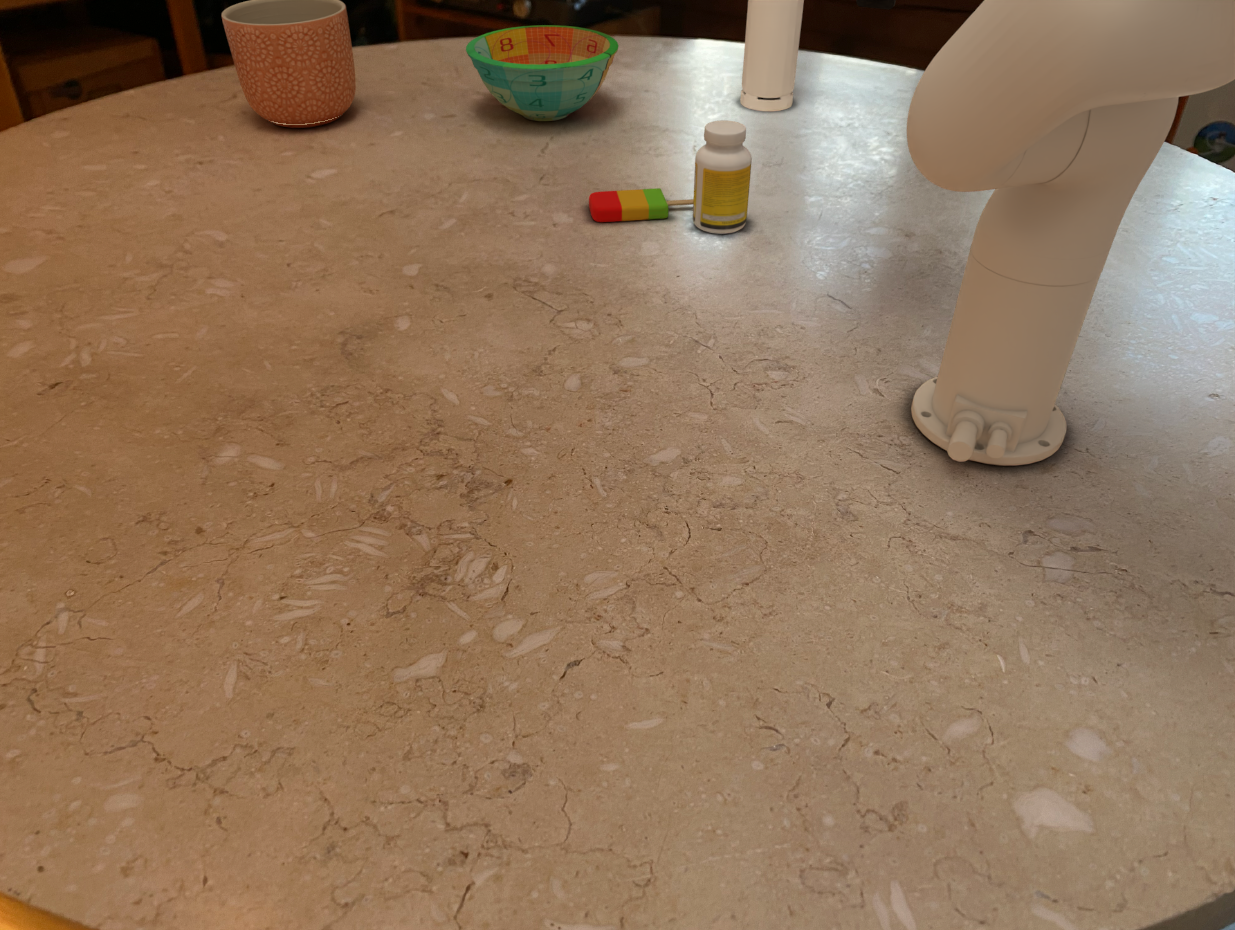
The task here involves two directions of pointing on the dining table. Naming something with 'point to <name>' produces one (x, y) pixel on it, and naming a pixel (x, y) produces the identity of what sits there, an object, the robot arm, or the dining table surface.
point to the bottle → (771, 53)
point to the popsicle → (631, 205)
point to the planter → (293, 58)
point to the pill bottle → (722, 178)
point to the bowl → (543, 67)
